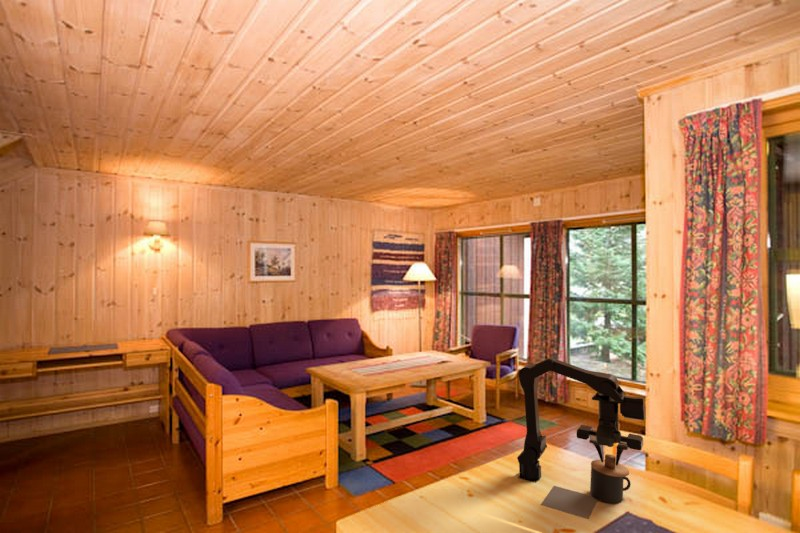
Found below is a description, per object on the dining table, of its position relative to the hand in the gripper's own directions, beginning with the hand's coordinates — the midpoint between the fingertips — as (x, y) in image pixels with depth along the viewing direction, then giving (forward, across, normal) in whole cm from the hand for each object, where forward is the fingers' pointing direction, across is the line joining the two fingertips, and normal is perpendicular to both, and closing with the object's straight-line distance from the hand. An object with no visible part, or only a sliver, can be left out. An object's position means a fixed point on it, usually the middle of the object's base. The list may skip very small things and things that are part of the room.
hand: (609, 463), depth 140 cm
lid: (+2, 0, 0) cm, 2 cm away
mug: (+11, 0, 0) cm, 11 cm away
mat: (+11, -10, -10) cm, 18 cm away
